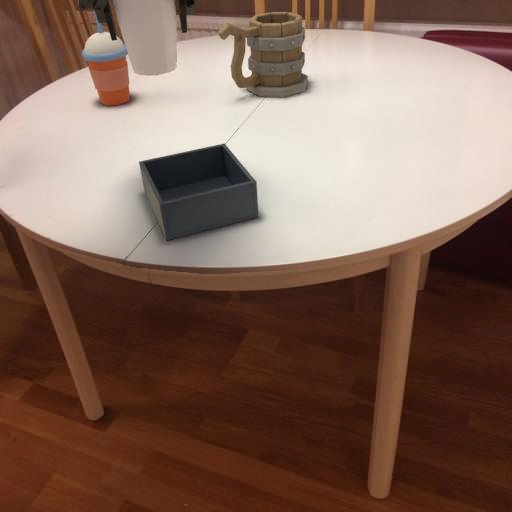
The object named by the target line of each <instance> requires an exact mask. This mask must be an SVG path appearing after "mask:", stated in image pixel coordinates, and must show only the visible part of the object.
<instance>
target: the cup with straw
mask: <svg viewBox="0 0 512 512" xmlns="http://www.w3.org/2000/svg"><path fill="white" fill-rule="evenodd" d="M93 12H94V17H95V21H96V27H97V31H98V32H96V33H93V34H92V35H90V36H89V37H88V38H87V40H86V42H85V43H84V48H83V49H82V51H81V56H82V58H83V60H85V61H86V62H87V66H88V70H89V73H90V77H91V80H92V82H93V85H94V88H95V90H96V92H97V95H98V97H99V101H100V103H101V104H102V105H105V106H118V105H123V104H125V103H127V102H129V101H130V99H131V94H130V93H131V92H130V73H129V64H128V61H127V55H128V52H127V49H126V46H125V43H123V41H122V39H121V38H120V37H118V36H117V40H113V41H112V39H111V36H110V32H109V31H104V29H103V23H99V22H98V20H97V17H96V13H95V11H94V10H93Z"/></svg>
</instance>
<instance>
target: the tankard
mask: <svg viewBox="0 0 512 512" xmlns="http://www.w3.org/2000/svg"><path fill="white" fill-rule="evenodd" d="M248 26H249V27H245V28H243V27H240V26H236V25H233V24H231V23H229V22H226V23H225V24H224V25H223V26H222V27H221V28H220V29H219V30H218V31H217V35H218V36H219V38H220V39H221V40H223V41H226V39H227V38H228V37H229V36H230V35H231V36H232V37H233V54H232V59H231V63H230V73H231V78H232V80H233V82H234V83H235V85H236V86H237V88H238V89H246V91H248V92H251V93H253V94H255V95H257V96H258V97H262V98H263V97H265V98H266V97H267V98H286V97H289V96H293V95H296V94H297V95H298V94H300V93H303V92H305V90H306V88H307V86H308V83H309V76H308V75H307V74H305V73H303V68H304V65H305V62H306V52H304V51H303V44H304V42H305V41H306V28H305V27H303V16H302V15H301V14H298V13H294V12H290V11H270V12H264V13H259V14H254V15H253V16H252V17H251V18H250V20H249V21H248ZM246 45H247V47H250V55H249V57H248V58H247V65H248V66H247V67H248V70H249V71H251V74H250V75H249V76H246V77H245V75H244V74H243V64H244V59H245V56H246V55H245V54H246Z"/></svg>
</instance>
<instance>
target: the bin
mask: <svg viewBox="0 0 512 512" xmlns="http://www.w3.org/2000/svg"><path fill="white" fill-rule="evenodd" d="M138 165H139V169H140V175H141V180H142V184H143V185H142V186H143V190H144V194H145V197H146V199H147V201H148V203H149V206H150V208H151V210H152V212H153V215H154V217H155V219H156V222H157V223H158V225H159V228H160V230H161V233H162V234H163V236H164V239H165V241H171V240H174V239H178V238H183V237H186V236H190V235H194V234H198V233H201V232H205V231H210V230H213V229H218V228H221V227H225V226H228V225H233V224H236V223H241V222H244V221H248V220H253V219H257V218H259V203H258V201H259V200H258V185H257V184H258V183H257V180H256V179H255V178H254V176H252V174H251V173H250V172H249V171H248V169H247V168H246V167H245V166H244V164H243V163H242V162H241V161H240V160H239V159H238V158H237V156H236V155H235V154H234V153H233V151H232V150H231V149H230V148H229V146H228V145H227V144H226V143H220V144H215V145H211V146H206V147H201V148H197V149H191V150H187V151H182V152H177V153H172V154H167V155H164V156H160V157H154V158H149V159H145V160H140V161H138Z"/></svg>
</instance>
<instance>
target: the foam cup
mask: <svg viewBox="0 0 512 512" xmlns="http://www.w3.org/2000/svg"><path fill="white" fill-rule="evenodd" d="M110 1H111V5H112V7H113V11H114V14H115V17H116V20H117V23H118V27H119V31H120V33H121V36H122V39H123V42H124V43H123V44H125V46H126V49H127V52H128V54H127V55H128V59H129V62H130V65H131V67H132V70H133V73H134V74H136V75H139V76H146V77H147V76H160V75H165V74H169V73H171V72H173V71H175V70H176V69H177V68H178V64H177V63H178V38H177V37H178V36H177V35H178V33H177V32H178V29H177V27H178V26H177V0H110Z"/></svg>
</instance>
